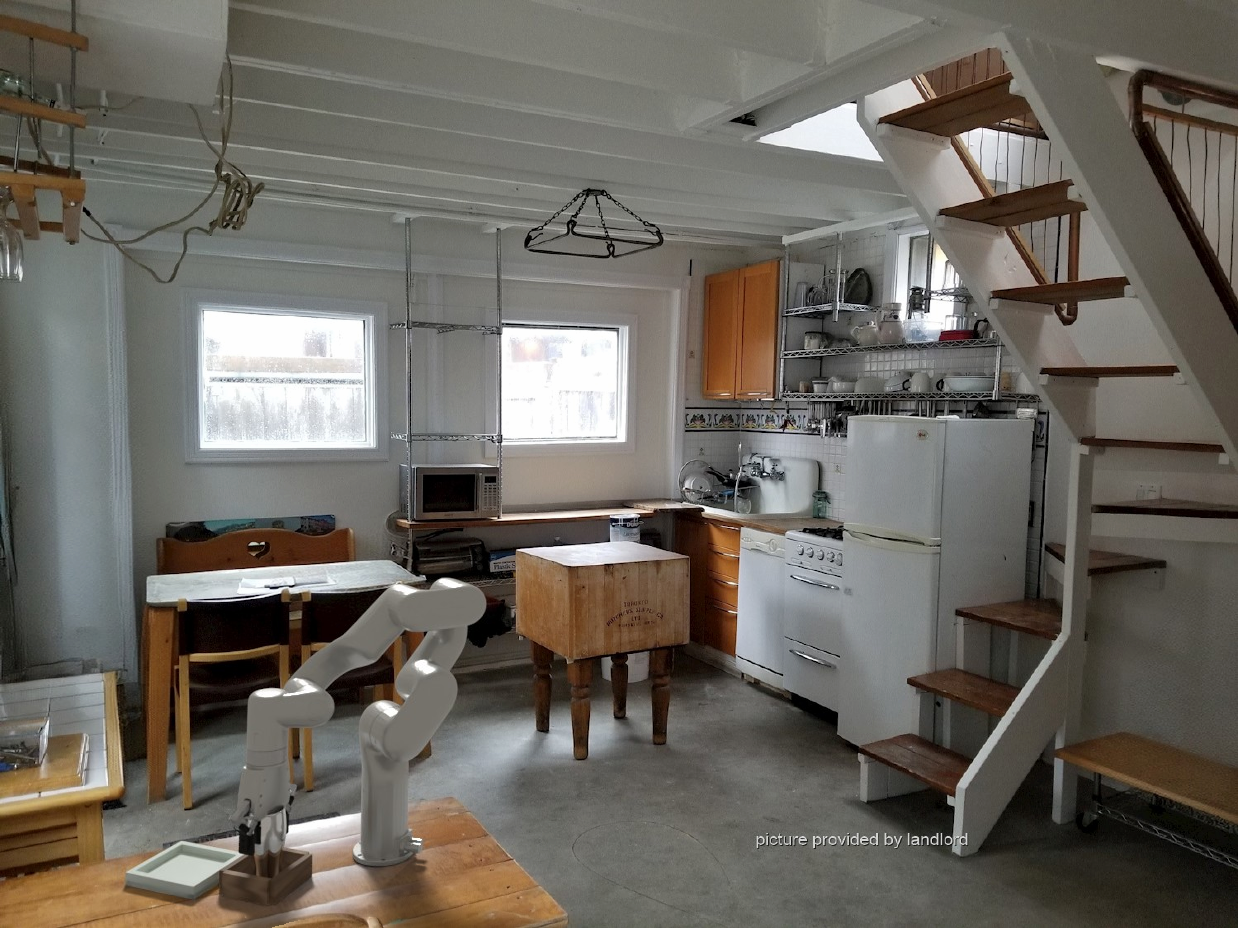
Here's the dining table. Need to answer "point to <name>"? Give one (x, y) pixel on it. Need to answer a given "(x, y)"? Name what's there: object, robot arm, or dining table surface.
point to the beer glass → (269, 844)
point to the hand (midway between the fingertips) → (264, 842)
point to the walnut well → (264, 890)
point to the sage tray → (181, 870)
